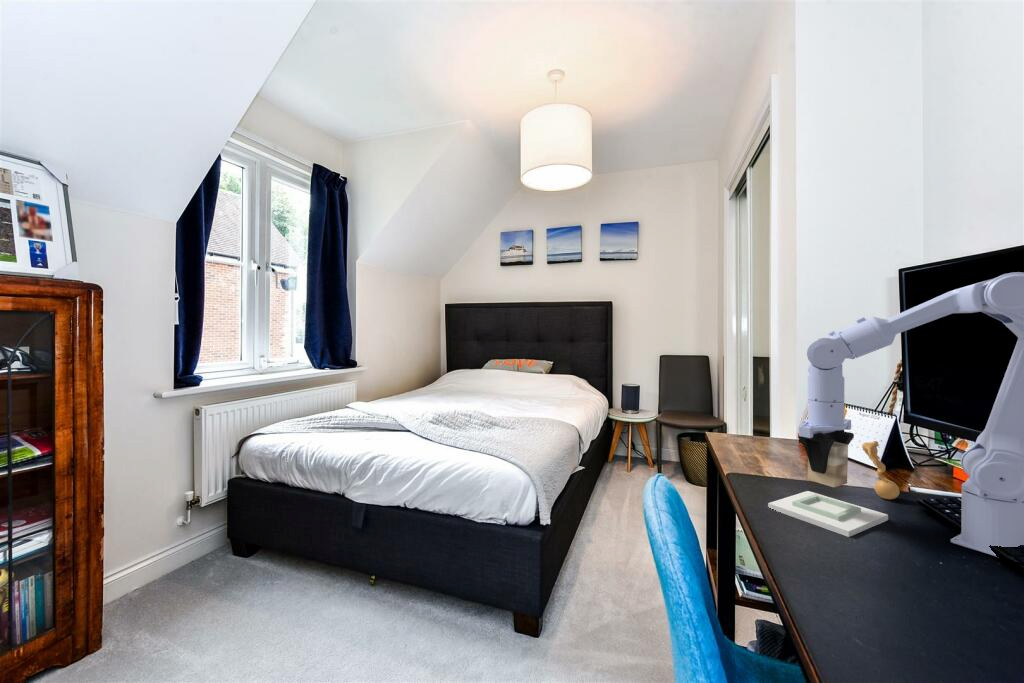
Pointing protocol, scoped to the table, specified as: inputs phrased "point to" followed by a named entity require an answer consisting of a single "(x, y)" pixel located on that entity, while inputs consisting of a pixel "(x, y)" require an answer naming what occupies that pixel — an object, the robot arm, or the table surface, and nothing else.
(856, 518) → the collar board
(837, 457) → the block stack
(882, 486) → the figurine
